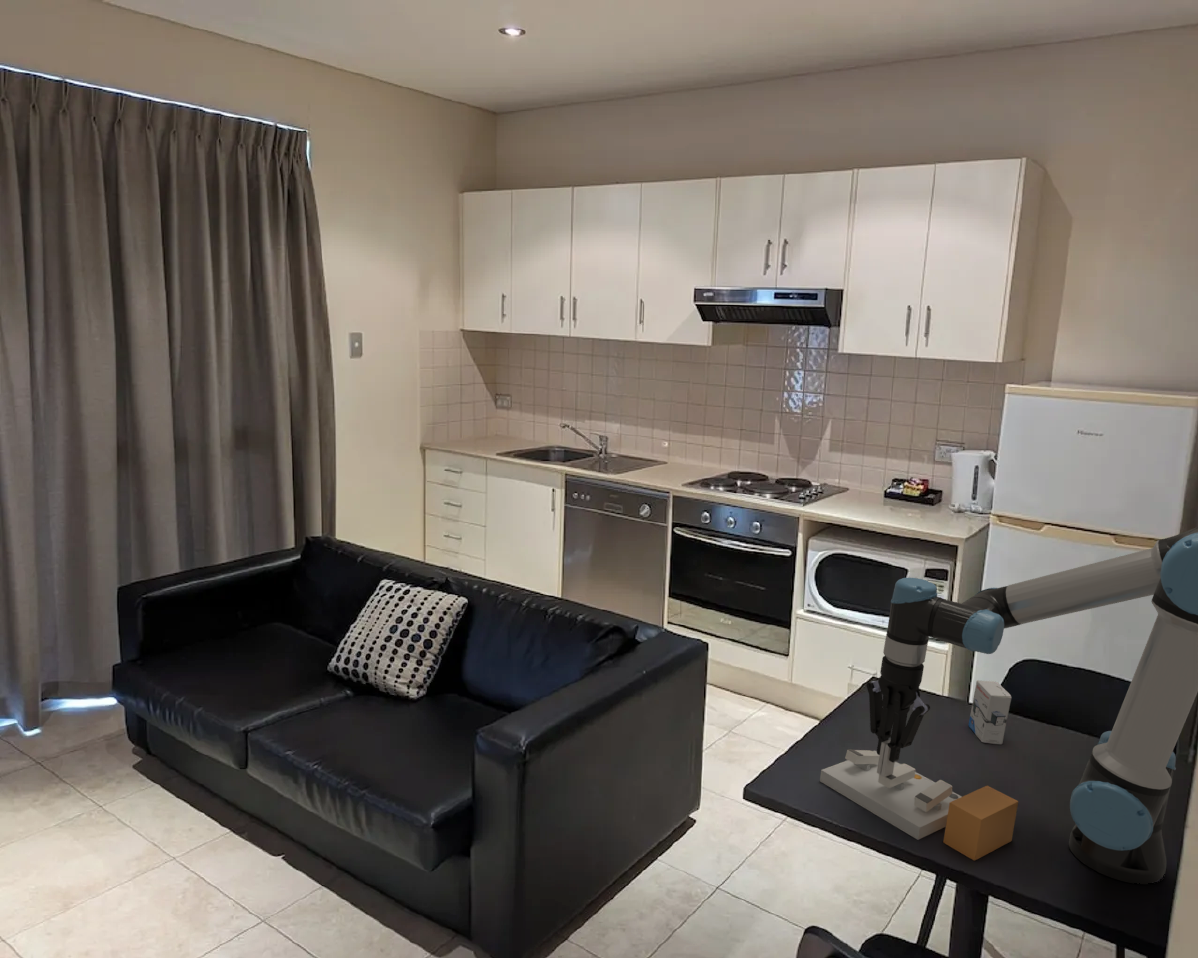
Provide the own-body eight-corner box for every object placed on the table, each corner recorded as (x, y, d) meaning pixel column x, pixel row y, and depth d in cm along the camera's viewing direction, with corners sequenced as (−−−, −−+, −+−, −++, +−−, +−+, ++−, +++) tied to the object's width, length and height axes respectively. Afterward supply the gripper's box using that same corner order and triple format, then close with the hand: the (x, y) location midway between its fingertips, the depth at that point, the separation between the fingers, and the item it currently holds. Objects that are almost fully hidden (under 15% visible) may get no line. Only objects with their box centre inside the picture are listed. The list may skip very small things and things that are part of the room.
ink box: (967, 725, 211) (974, 679, 208) (988, 727, 211) (996, 680, 208) (982, 743, 202) (990, 694, 200) (1004, 744, 202) (1012, 696, 200)
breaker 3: (952, 793, 170) (952, 784, 170) (926, 811, 166) (926, 803, 166) (940, 787, 172) (940, 778, 172) (914, 805, 168) (914, 796, 168)
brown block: (1011, 840, 164) (1018, 801, 163) (974, 860, 157) (981, 819, 156) (980, 823, 169) (987, 785, 168) (943, 842, 162) (949, 802, 161)
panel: (971, 814, 172) (974, 797, 172) (917, 839, 162) (920, 821, 162) (873, 761, 190) (875, 745, 190) (819, 781, 181) (821, 764, 180)
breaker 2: (914, 777, 177) (915, 768, 177) (889, 788, 172) (890, 779, 172) (903, 771, 179) (904, 762, 179) (878, 782, 174) (879, 772, 174)
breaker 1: (878, 764, 183) (881, 755, 183) (855, 764, 179) (858, 754, 178) (867, 758, 186) (870, 749, 185) (844, 758, 181) (847, 749, 181)
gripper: (946, 669, 166) (925, 785, 170) (886, 643, 176) (868, 753, 181) (922, 676, 161) (901, 794, 166) (862, 649, 172) (844, 762, 176)
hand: (884, 773), depth 173 cm, fingers closed
